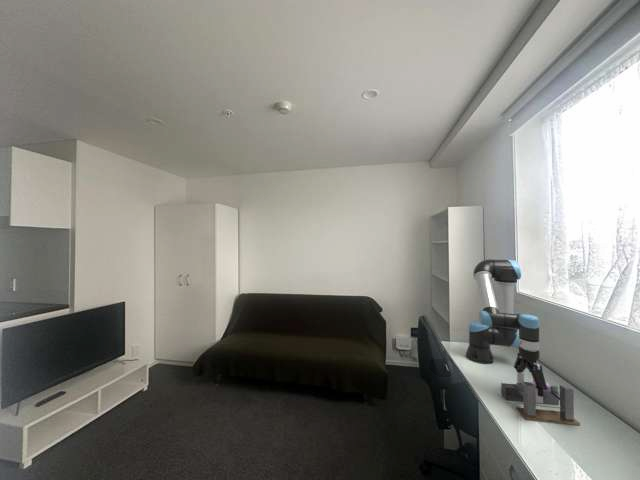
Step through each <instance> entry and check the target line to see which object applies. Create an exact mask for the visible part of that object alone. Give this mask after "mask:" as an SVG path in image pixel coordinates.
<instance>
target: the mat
mask: <svg viewBox="0 0 640 480" xmlns="http://www.w3.org/2000/svg"><path fill="white" fill-rule="evenodd" d="M497 396H498V397H500V399H501V398H502V399H503V400H504V401H503V400H502V399H501V400H502V401H503V402H504V403H505V402H506V404H515V405H517V404H518V405H523V402H518V401H507V400H505V399H504V398H503V397H502V395H501V393H497ZM536 406H538V407H547V408H557V409H560V403H559V405H550V404H539V403H536Z"/></svg>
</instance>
